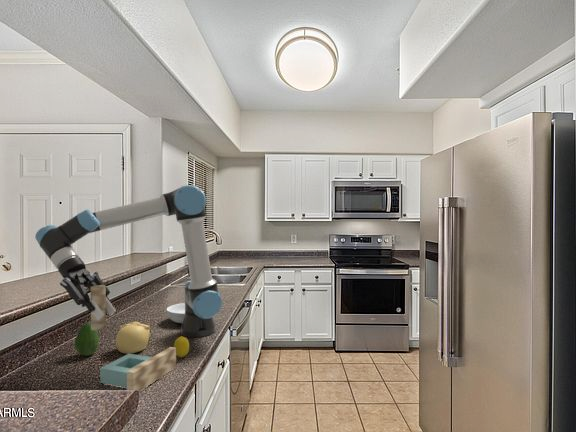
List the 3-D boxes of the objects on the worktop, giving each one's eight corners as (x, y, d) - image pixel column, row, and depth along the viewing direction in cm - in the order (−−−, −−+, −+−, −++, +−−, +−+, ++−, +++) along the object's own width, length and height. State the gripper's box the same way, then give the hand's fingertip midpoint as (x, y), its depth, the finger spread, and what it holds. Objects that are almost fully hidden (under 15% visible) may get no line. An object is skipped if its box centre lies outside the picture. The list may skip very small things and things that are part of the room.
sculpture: (153, 344, 143) (153, 318, 143) (142, 356, 131) (141, 327, 131) (124, 345, 143) (124, 318, 143) (110, 357, 131) (110, 328, 131)
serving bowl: (199, 329, 162) (199, 314, 162) (157, 326, 166) (157, 311, 166) (217, 316, 182) (217, 303, 182) (180, 314, 187) (179, 301, 187)
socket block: (128, 368, 122) (128, 353, 122) (158, 373, 118) (158, 358, 118) (100, 384, 110) (100, 368, 110) (131, 390, 106) (131, 373, 106)
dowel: (98, 325, 121) (98, 284, 121) (108, 326, 119) (108, 285, 119) (87, 329, 117) (87, 287, 116) (98, 331, 115) (97, 288, 115)
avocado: (93, 349, 138) (93, 318, 138) (102, 354, 133) (102, 322, 133) (71, 355, 132) (71, 323, 132) (79, 361, 127) (79, 328, 127)
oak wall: (170, 367, 122) (170, 346, 122) (176, 368, 121) (176, 347, 121) (126, 395, 103) (126, 371, 103) (133, 396, 102) (133, 372, 102)
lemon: (170, 358, 130) (170, 336, 130) (183, 353, 134) (183, 332, 134) (179, 362, 126) (179, 339, 126) (192, 357, 131) (192, 335, 131)
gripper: (84, 267, 131) (121, 315, 126) (38, 275, 114) (78, 331, 109) (95, 253, 129) (133, 301, 124) (50, 259, 113) (91, 315, 108)
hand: (107, 315), depth 117 cm, fingers closed on dowel, 4 cm apart
